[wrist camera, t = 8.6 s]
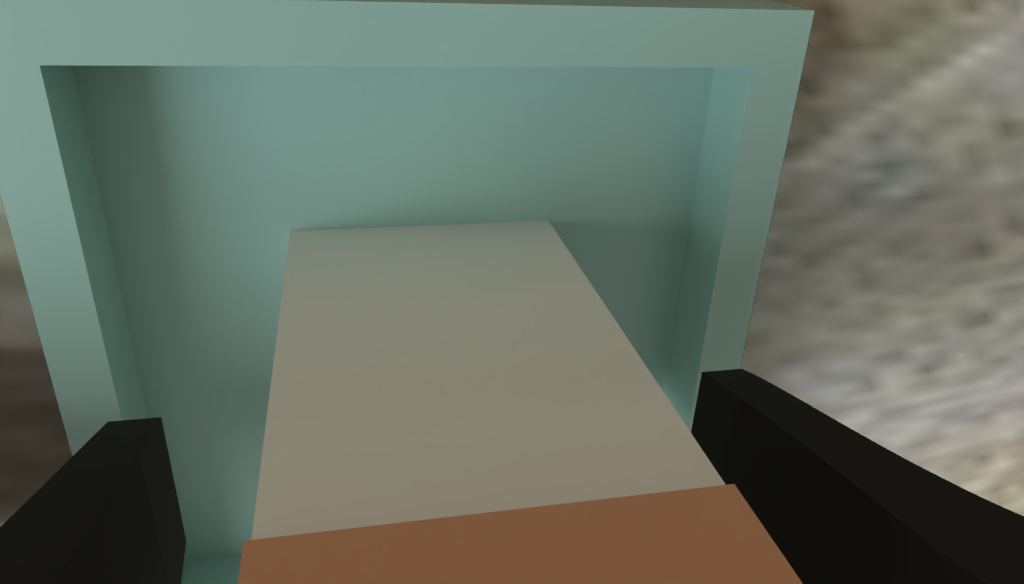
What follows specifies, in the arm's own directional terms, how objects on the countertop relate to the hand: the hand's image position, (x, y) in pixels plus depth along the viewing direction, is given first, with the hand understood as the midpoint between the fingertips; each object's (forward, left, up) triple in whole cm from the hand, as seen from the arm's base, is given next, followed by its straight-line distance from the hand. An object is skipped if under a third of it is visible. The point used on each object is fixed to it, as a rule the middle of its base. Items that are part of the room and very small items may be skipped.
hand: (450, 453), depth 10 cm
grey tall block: (0, 0, -3) cm, 3 cm away
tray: (0, 0, -4) cm, 4 cm away
